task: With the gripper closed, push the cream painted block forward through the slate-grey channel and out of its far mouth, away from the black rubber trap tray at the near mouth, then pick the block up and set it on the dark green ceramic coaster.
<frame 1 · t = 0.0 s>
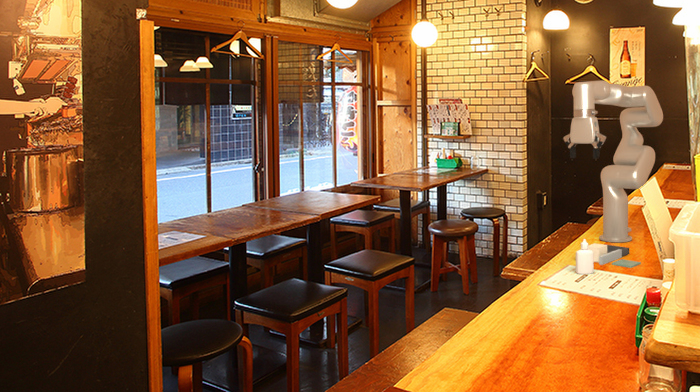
hand: (584, 158, 232), 37 cm above the bar counter, tool pointing down, fingers open, 9 cm apart
trap tray: (613, 253, 229), on the bar counter
green coaster: (626, 264, 213), on the bar counter
eye dropper bottle: (584, 273, 206), on the bar counter
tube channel: (598, 258, 223), on the bar counter
cream block: (596, 260, 222), on the bar counter
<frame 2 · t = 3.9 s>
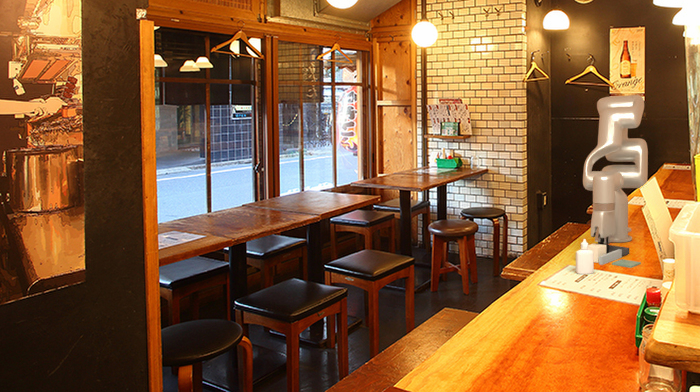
hand: (603, 254, 225), 1 cm above the bar counter, tool pointing down, fingers closed
cream block: (595, 260, 221), on the bar counter, touching gripper
everything else where it was.
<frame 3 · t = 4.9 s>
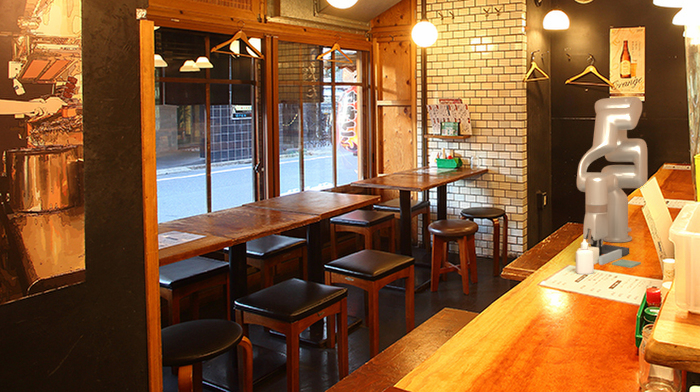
hand: (596, 257, 221), 1 cm above the bar counter, tool pointing down, fingers closed
cream block: (588, 262, 218), on the bar counter, touching gripper
everything else where it was.
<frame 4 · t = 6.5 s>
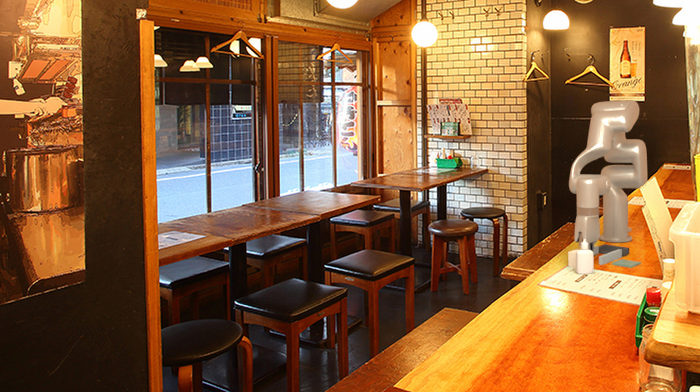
hand: (588, 260, 218), 1 cm above the bar counter, tool pointing down, fingers closed
cream block: (579, 266, 215), on the bar counter, touching gripper
everything else where it was.
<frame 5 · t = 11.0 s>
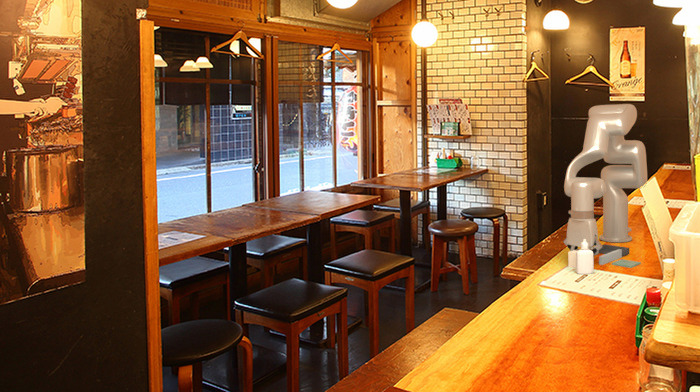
hand: (582, 263, 216), 0 cm above the bar counter, tool pointing down, fingers closed on cream block, 5 cm apart
cream block: (579, 266, 214), on the bar counter, touching gripper
everything else where it was.
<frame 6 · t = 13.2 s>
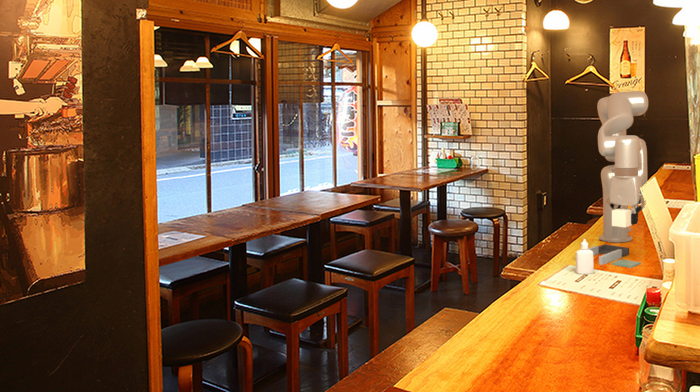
hand: (626, 222, 211), 15 cm above the bar counter, tool pointing down, fingers closed on cream block, 5 cm apart
cream block: (622, 225, 210), point 15 cm above the bar counter, touching gripper
everything else where it was.
when the fingers open (3 cm above the bar counter, at t = 15.9 s): cream block drops 1 cm, resting on green coaster.
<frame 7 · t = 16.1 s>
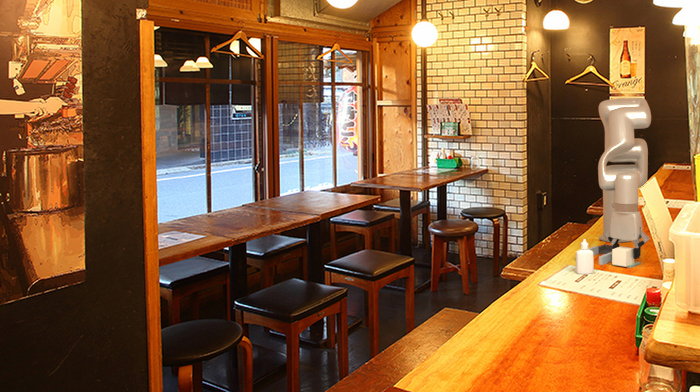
hand: (626, 256, 213), 3 cm above the bar counter, tool pointing down, fingers open, 6 cm apart
cream block: (623, 263, 212), point 1 cm above the bar counter, touching green coaster
everything else where it was.
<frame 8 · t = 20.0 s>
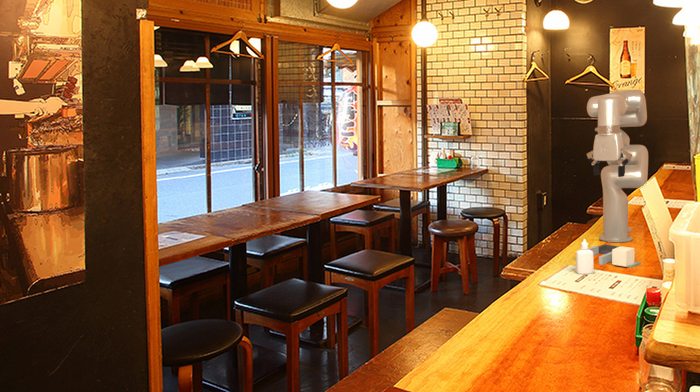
hand: (608, 175, 225), 30 cm above the bar counter, tool pointing down, fingers open, 9 cm apart
nothing on the bar counter moved.
at the end: cream block inside the target area on the green coaster (2.1 cm from its centre), point 0.6 cm above the green coaster's base; cream block tilted 0°; the gripper is holding nothing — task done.
